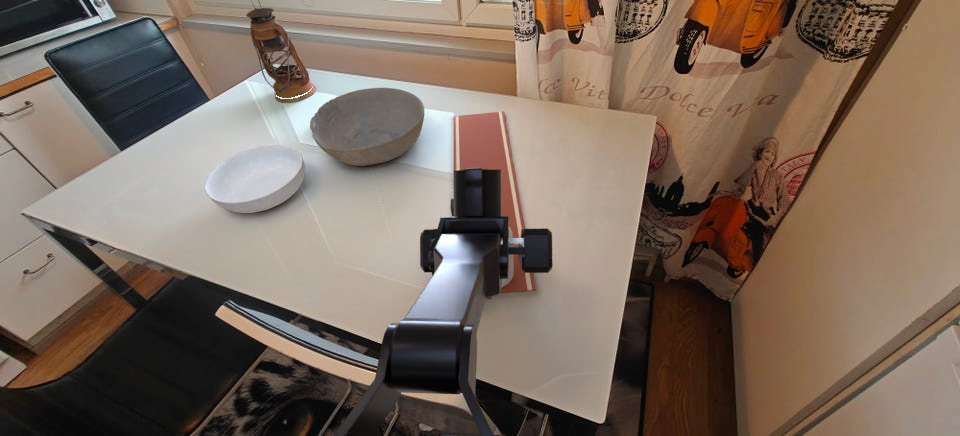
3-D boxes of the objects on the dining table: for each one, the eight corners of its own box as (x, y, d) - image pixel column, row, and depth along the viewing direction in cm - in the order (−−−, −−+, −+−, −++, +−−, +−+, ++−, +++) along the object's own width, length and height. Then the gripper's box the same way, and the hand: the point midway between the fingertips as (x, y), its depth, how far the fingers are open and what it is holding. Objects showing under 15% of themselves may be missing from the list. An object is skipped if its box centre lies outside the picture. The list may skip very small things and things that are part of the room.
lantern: (328, 86, 133) (291, -16, 112) (303, 105, 125) (258, 0, 104) (288, 81, 138) (246, -17, 118) (261, 99, 130) (210, -2, 109)
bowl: (322, 132, 112) (308, 99, 105) (418, 110, 117) (411, 77, 110) (325, 192, 93) (309, 157, 86) (441, 163, 98) (434, 127, 91)
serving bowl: (220, 238, 85) (202, 215, 80) (221, 183, 99) (205, 161, 94) (319, 204, 90) (308, 180, 86) (306, 157, 104) (296, 134, 100)
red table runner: (535, 290, 69) (535, 289, 69) (454, 297, 70) (454, 296, 70) (503, 112, 112) (503, 111, 112) (453, 117, 113) (453, 116, 113)
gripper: (555, 188, 50) (547, 197, 66) (407, 191, 52) (434, 198, 67) (556, 279, 50) (548, 265, 65) (408, 278, 52) (434, 265, 67)
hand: (490, 247), depth 66 cm, fingers open, 9 cm apart
